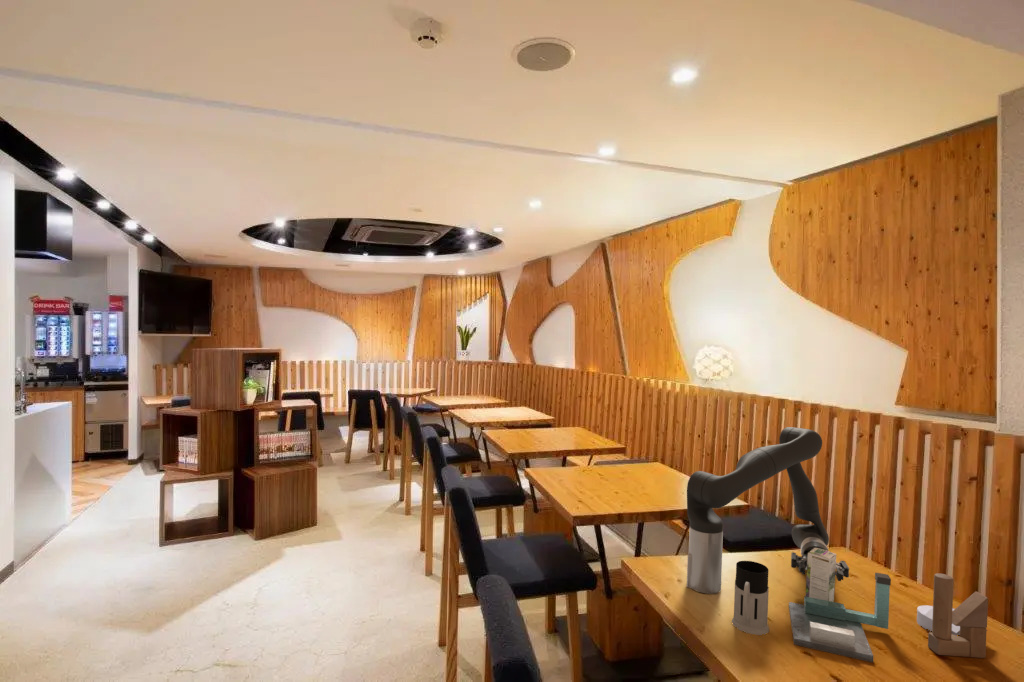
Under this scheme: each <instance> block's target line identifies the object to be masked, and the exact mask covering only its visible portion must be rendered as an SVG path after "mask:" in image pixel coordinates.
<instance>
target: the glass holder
mask: <svg viewBox="0 0 1024 682" xmlns="http://www.w3.org/2000/svg"><path fill="white" fill-rule="evenodd" d="M735 565H736V567H735V580H734V598H733V599H734V601H733V602H734V604H733V605H734V606H733V617H732V618H731V624H732V623H733V624H732V626H733V627H734V626H735V628H736V627H737V628H738V629H737V628H736V629H737V630H738V631H740V632H743V631H744V632H743V633H745V632H746V634H749V633H750V634H749V635H753V634H755V636H763V635H762V634H764V635H767V634H768V633H769V632H770V627H769V624H768V620H769V618H768V613H769V591H770V590H769V589H770V587H769V567H768V566H766V565H764V564H763V563H760V562H757V561H752V560H740V561H739V560H738V561H737V562H736V564H735ZM766 633H767V634H766Z"/></svg>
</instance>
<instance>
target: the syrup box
mask: <svg viewBox="0 0 1024 682" xmlns="http://www.w3.org/2000/svg"><path fill="white" fill-rule="evenodd" d="M836 563H837V553H834V552H832V551H827V550H824V549H819V548H814V549H812V550H811V551H810V552H809V553H808V560H807V570H806V580H805V597H810V598H816V599H821V600H826V601H831V602H835V589H836V588H835V587H836V586H835V585H836V575H835V572H836Z"/></svg>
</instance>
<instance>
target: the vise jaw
mask: <svg viewBox="0 0 1024 682" xmlns="http://www.w3.org/2000/svg"><path fill="white" fill-rule="evenodd" d="M874 580H875V591H874V612H873V613H874V614H873V613H867V612H864V611H863V612H862V611H858V610H852V609H847V608H846V606H845V604H844V603H840V602H837V601H836V602H835V601H834V602H831V601H826V600H821V599H816V598H810V597H805V596H806V595H805V596H804V598H803V599H804V600H803V601H804V602H803V605H804V609H805V613H809V614H814V615H819V616H823V617H828V618H833V619H838V620H843V621H845V620H848V621H853V622H858V623H861V624H864V625H867V626H868V625H869V626H873V627H877V628H881V629H887V630H889V621H890V620H889V616H890V615H889V613H890V612H889V611H890V589H891V588H890V587H891V585H892V584H891V581H892V580H891V577H890V575H889V574H886V573H880V572H874Z"/></svg>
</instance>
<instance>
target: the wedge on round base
mask: <svg viewBox="0 0 1024 682" xmlns="http://www.w3.org/2000/svg"><path fill="white" fill-rule="evenodd" d="M955 609H956V608H952V611H953V610H955ZM916 613H917V614H916V623H917V625H919V626H920V627H921V626H922V629H924V630H926V629H928V630H927V631H929V630H930V631H929V632H931V631H932V621H933V605H919V606H917V608H916ZM952 634H953V635H956V636H957V635H960V626H955V625H954V624H953V623H952Z"/></svg>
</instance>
